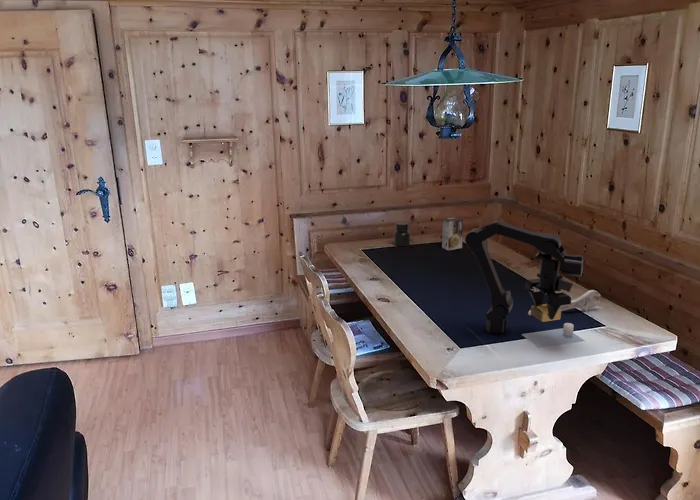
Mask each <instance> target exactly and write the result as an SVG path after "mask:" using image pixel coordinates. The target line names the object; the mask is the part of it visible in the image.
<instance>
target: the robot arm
mask: <svg viewBox="0 0 700 500" xmlns="http://www.w3.org/2000/svg"><path fill="white" fill-rule="evenodd" d="M495 235H499V236H503V237H506V238H509V239H512V240H515V241H517V242H521V243H524V244H527V245H530V246H532V247H533V248H534V249H536V250H538V251H539V252H537V253H536V255H535V256H534V259H536V260H540V266H539V267H540V268H539V273H537V274H536V277H537V278H532V279H527V280H526V281H525V282H524V288H525V289H527V291H528V293H529V295H530V297H531V299H532V301H533V303H534V306H535V305H543V304H544V303H543V302H544V296H545V295H546V296H548V301H545V304H547V308H548V313H549V318H550V319H551V320H552V319H554V317H555V315H556V313H557V311H558V309H559V307H560V306H561V305H568V304H571V301H572V297H571V296H570V295H569V294H567V293H565V292H561V291H566V292H568V293H570V292H571V290H572V287H573V285H574V283H573V282H571V281H569V280H567V279H565V278H563V275H566V276H575V277H582V275H583V272H584V271H583V269H584V255H580V254H567V253H568V252H567V250H566V249H565V248H564V246H563V244H562V239H561V237H560V236H559V234H556V233H550V232H537V231H532V230H529V229H526V228H523V227H519V226H516V225H512V224H510V223H506V222H503V221H501V220H494V221H493V222H492V223H490V224H487V225H485V226H483V227H481V228H480V227H476V228H475V227H474V228H473V229H471V230H470V231H469V232H468V233H467V234H466V235H465V238H464V242H465V244H466V245H467V247H468V249H469V250H470V252H471V253H472V254H473V255H474V256H475V258H476V260H477V262H478V264H479V267H480V270H481V272H482V275H483V277H484V281H485V282H486V286H487V288H488V290H489V293H490V303H491V304H490V305H491V307H490V308H489V309H488V310H487V312H486V314H485V317H486V320H485V330H486V332H488V333H489V334H493V335H500V334H503V333H505V332H507V330H508V320H507V316H509V314H510V312H511V310H512V308H513V306H514V301H515V300H514V298H513V296H512V294H511V291H510V290H507V291H506V290H505V289H504V288H503V286H502V283H501V281H500V278H499V276H498V272H497V271H496V268H495V266H494V263H493V261H492V260H493V259H492V258H491V255H490V253H489V246H488V245H489V243H488V239H490V238H492V237H494V236H495ZM559 264H560V265H559ZM559 271H561V272H560V273H559ZM562 274H563V275H562ZM552 321H553V320H552Z"/></svg>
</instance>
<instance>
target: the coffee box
mask: <svg viewBox="0 0 700 500" xmlns="http://www.w3.org/2000/svg"><path fill="white" fill-rule="evenodd" d="M463 222H464V219H462V218H461V217H458V216H453V217H447V218H442V233H441V234H442V235H441V237H442V239H441V241H442V242H441V247H442V249H444V250H446V251H453V250H457V249H463V235H464V233H463V232H464V231H463V229H464V227H463V225H464V223H463Z"/></svg>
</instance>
